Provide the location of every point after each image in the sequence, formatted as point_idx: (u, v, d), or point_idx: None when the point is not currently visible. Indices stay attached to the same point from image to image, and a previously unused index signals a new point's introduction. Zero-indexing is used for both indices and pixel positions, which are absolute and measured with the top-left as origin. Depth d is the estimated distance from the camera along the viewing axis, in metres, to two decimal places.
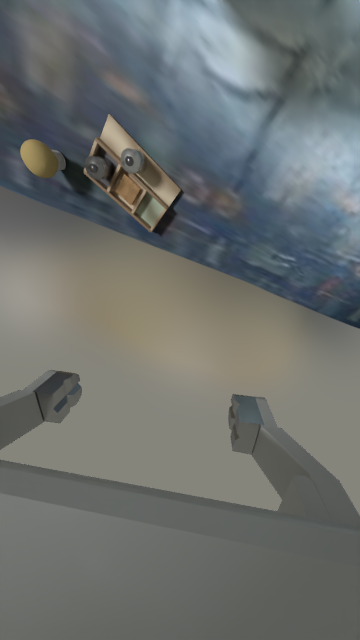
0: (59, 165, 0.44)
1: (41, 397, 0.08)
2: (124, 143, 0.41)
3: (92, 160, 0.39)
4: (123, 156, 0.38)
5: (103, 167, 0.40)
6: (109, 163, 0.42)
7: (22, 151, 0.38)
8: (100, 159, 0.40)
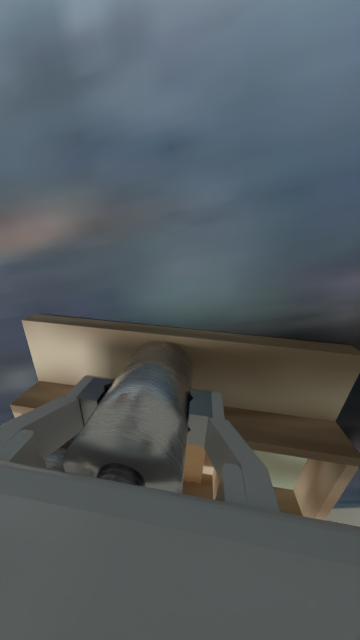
0: None
1: (84, 403, 0.08)
2: (97, 353, 0.12)
3: None
4: None
5: None
6: None
7: None
8: None
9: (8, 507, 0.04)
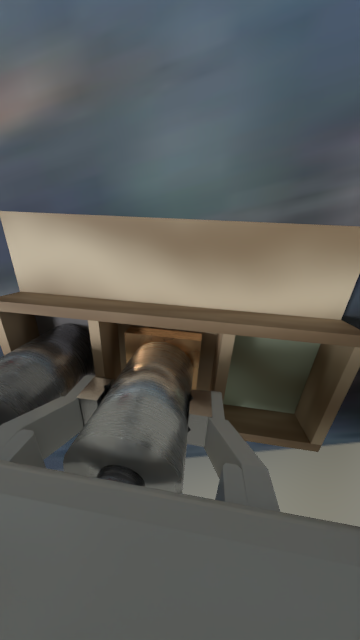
0: None
1: (84, 403, 0.08)
2: (81, 249, 0.11)
3: None
4: None
5: (17, 395, 0.08)
6: (65, 342, 0.11)
7: None
8: None
9: (8, 507, 0.04)
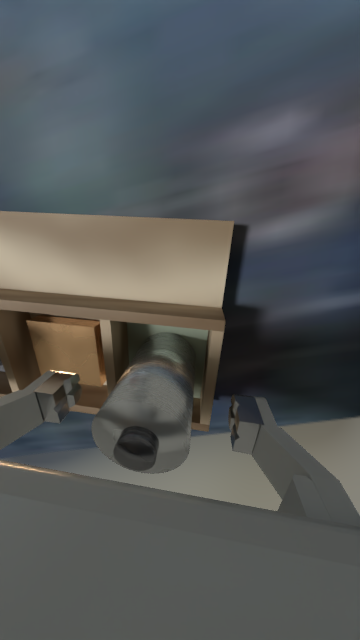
0: None
1: (41, 397, 0.08)
2: None
3: None
4: (105, 439, 0.08)
5: None
6: None
7: None
8: None
9: (8, 507, 0.04)
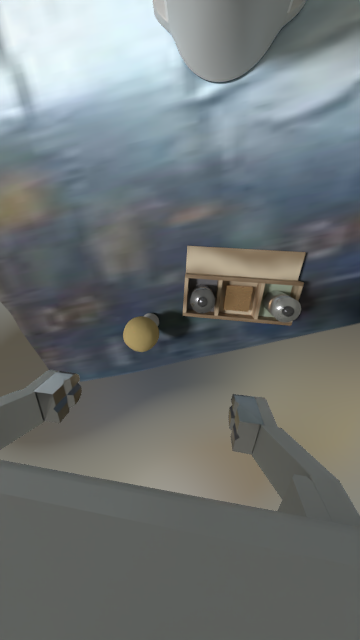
0: (156, 325, 0.37)
1: (41, 397, 0.08)
2: (213, 258, 0.33)
3: (202, 293, 0.29)
4: (277, 311, 0.29)
5: (214, 298, 0.30)
6: None
7: (126, 338, 0.32)
8: (210, 290, 0.30)
9: (8, 507, 0.04)
